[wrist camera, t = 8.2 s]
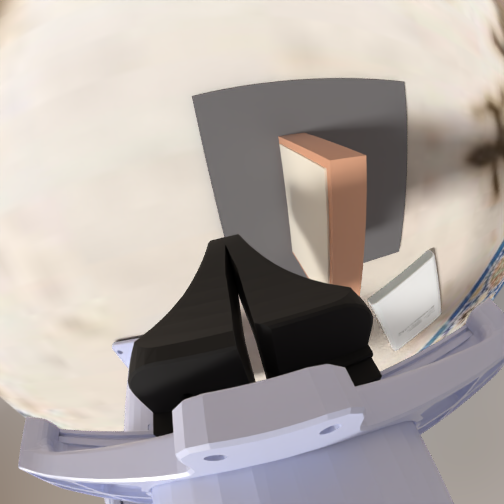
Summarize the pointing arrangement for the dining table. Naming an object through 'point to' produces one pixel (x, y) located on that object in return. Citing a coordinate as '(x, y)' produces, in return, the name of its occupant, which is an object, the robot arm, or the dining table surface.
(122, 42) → the dining table surface
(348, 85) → the mat
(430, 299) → the external hard drive
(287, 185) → the terracotta tile
